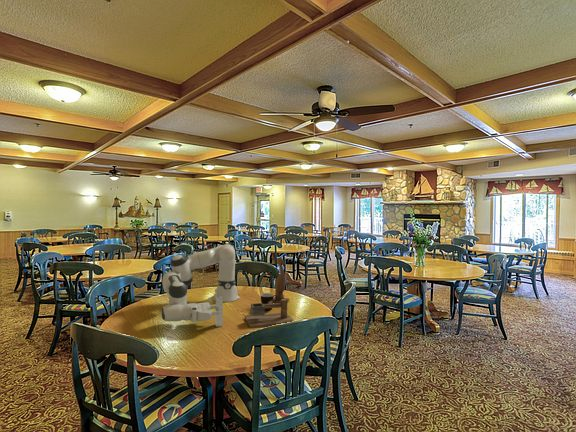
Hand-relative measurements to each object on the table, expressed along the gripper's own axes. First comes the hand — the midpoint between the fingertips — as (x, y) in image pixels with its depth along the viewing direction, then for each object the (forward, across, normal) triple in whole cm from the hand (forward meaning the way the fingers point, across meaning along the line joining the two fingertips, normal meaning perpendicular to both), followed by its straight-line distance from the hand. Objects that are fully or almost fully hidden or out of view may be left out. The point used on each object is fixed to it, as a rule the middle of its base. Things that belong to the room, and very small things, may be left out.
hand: (218, 309), depth 184 cm
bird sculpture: (+45, -35, -9) cm, 58 cm away
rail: (0, 0, -9) cm, 9 cm away
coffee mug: (+34, -20, -9) cm, 41 cm away
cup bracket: (+29, 0, -9) cm, 31 cm away
